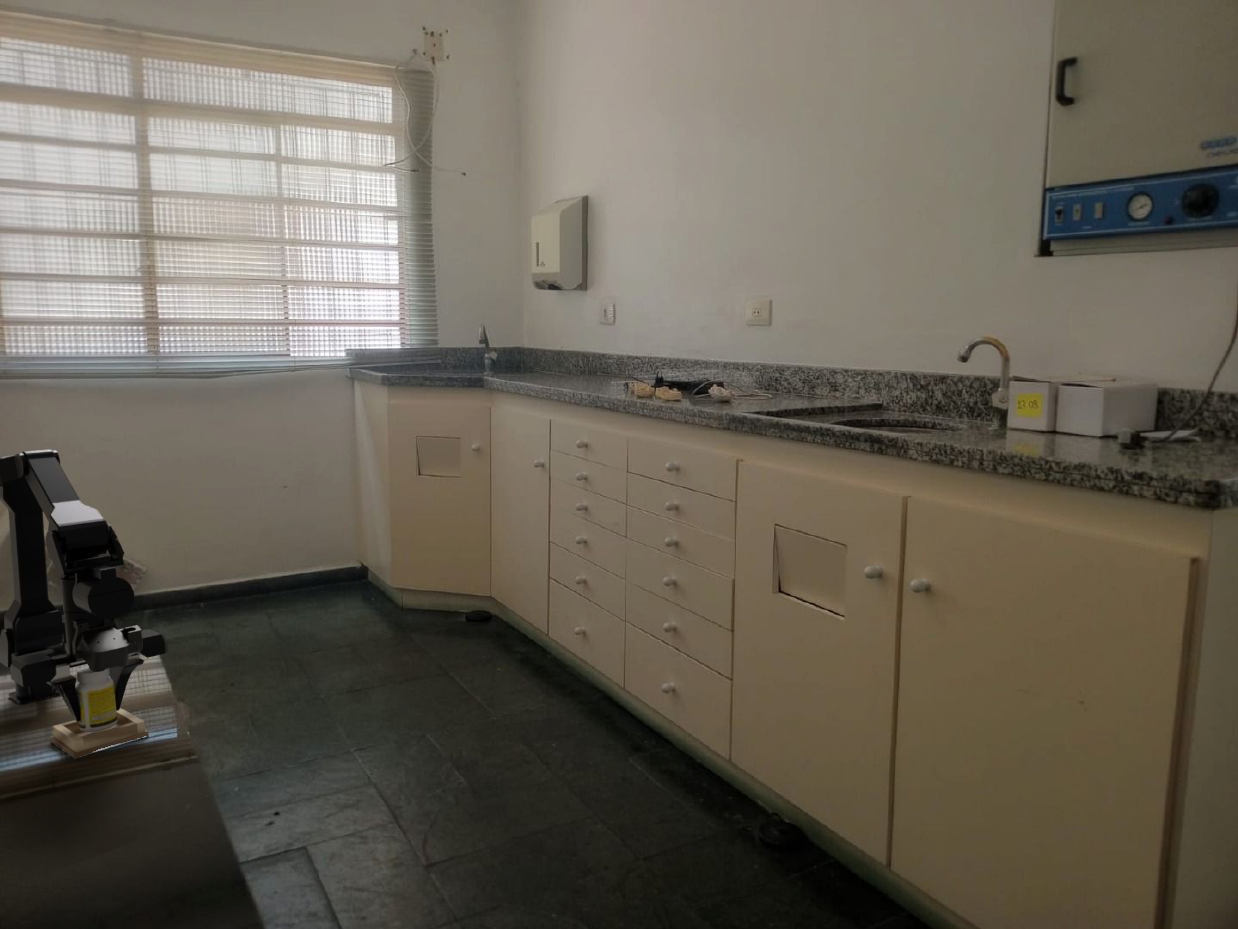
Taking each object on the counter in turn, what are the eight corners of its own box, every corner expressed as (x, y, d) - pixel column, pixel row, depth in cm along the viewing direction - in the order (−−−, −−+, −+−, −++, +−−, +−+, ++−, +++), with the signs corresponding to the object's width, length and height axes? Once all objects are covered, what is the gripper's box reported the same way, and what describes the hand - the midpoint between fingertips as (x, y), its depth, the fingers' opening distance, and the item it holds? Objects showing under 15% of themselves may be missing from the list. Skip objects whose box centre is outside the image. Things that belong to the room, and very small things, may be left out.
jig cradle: (51, 742, 134) (49, 726, 134) (122, 721, 141) (121, 706, 141) (75, 759, 128) (73, 742, 128) (148, 736, 135) (147, 721, 135)
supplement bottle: (124, 720, 137) (119, 663, 136) (103, 733, 132) (98, 674, 131) (93, 720, 137) (88, 663, 136) (71, 732, 132) (65, 674, 132)
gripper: (30, 633, 120) (42, 751, 122) (179, 602, 134) (188, 709, 136) (3, 619, 128) (15, 730, 130) (147, 591, 142) (156, 692, 143)
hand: (97, 715), depth 134 cm, fingers closed on supplement bottle, 5 cm apart
